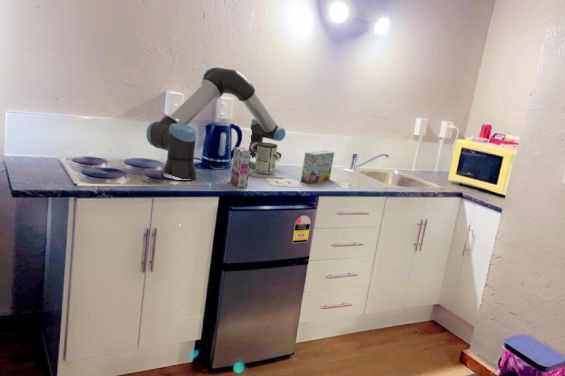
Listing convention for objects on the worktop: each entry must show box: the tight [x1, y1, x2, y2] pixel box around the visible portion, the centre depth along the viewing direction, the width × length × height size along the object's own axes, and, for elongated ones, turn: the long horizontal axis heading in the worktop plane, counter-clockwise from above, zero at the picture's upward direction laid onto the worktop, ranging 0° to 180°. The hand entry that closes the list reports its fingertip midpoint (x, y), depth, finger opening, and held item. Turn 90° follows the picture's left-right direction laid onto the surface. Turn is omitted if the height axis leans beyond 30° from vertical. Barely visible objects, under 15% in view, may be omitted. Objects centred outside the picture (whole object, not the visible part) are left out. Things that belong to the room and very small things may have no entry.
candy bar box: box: [230, 146, 252, 189], centre depth 220 cm, size 11×5×16 cm, turn 22°
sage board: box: [248, 168, 284, 179], centre depth 252 cm, size 16×16×1 cm
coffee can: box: [254, 141, 278, 173], centre depth 250 cm, size 10×10×14 cm
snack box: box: [300, 150, 335, 185], centre depth 250 cm, size 21×6×15 cm, turn 146°
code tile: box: [264, 178, 305, 189], centre depth 238 cm, size 16×16×1 cm
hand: (268, 157), depth 246 cm, fingers open, 10 cm apart
